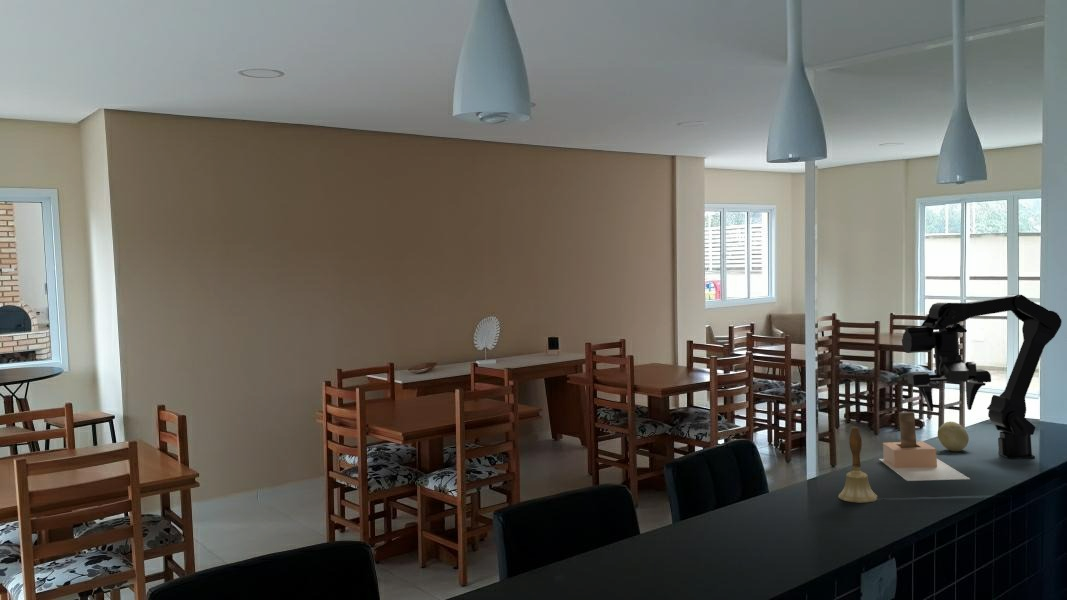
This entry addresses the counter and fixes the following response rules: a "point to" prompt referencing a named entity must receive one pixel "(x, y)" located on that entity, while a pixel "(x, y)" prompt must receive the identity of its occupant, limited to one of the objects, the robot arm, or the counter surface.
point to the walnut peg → (907, 429)
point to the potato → (953, 436)
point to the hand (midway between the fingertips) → (950, 410)
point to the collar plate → (928, 472)
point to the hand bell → (857, 475)
